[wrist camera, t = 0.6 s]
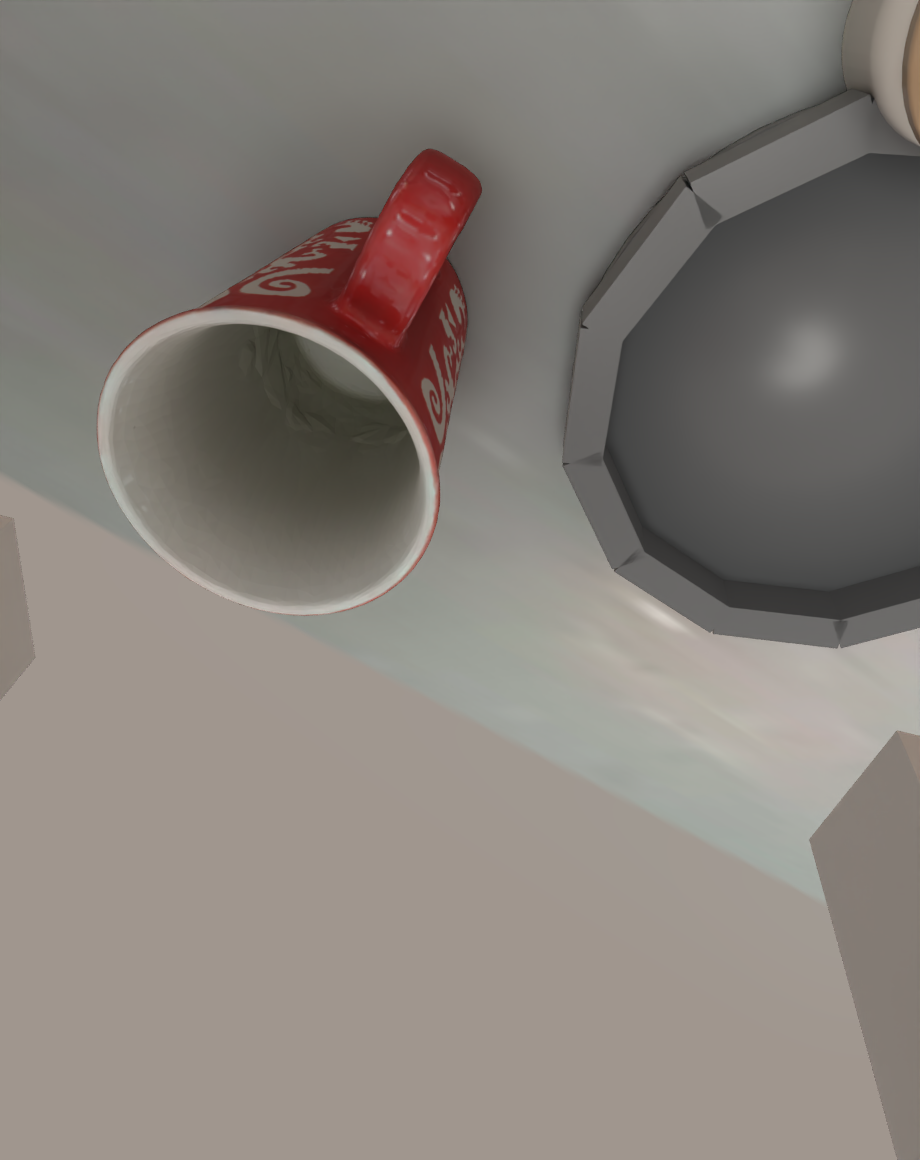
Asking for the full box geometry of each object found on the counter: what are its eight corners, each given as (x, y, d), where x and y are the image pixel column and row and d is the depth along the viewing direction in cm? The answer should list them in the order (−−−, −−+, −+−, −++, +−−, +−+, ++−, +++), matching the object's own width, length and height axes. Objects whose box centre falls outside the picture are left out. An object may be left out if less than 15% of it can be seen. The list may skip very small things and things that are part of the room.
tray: (475, 443, 34) (466, 477, 32) (852, -66, 23) (883, -75, 21) (819, 668, 39) (835, 712, 36) (1272, 330, 28) (1338, 361, 25)
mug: (409, 463, 35) (328, 668, 24) (228, 337, 33) (48, 500, 22) (603, 216, 28) (611, 346, 17) (392, 35, 26) (249, 54, 15)
